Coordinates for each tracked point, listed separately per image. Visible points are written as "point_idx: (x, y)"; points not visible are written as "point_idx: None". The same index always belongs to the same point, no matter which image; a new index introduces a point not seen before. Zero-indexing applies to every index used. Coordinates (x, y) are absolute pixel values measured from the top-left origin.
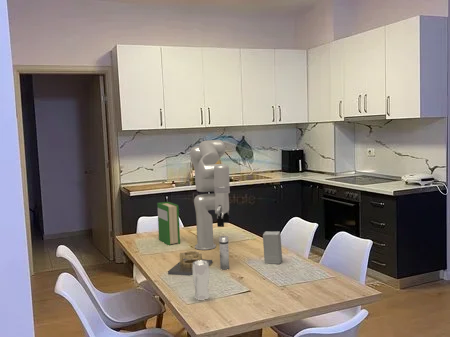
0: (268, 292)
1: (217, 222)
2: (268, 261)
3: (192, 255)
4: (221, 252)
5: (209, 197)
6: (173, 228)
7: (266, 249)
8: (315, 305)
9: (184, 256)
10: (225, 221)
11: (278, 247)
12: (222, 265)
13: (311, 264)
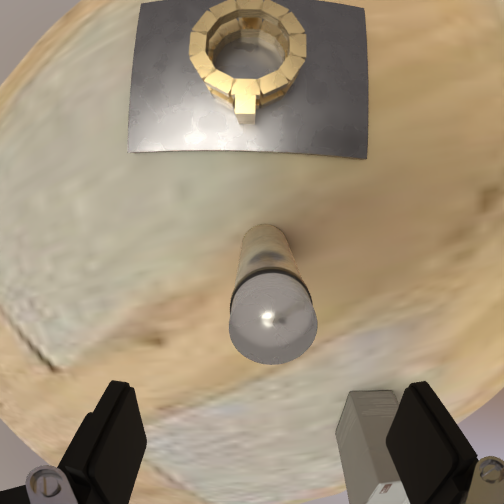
0: (66, 410)
1: (90, 420)
2: (346, 409)
3: (203, 67)
4: (239, 266)
5: None
6: None
7: (357, 440)
8: (55, 466)
9: (198, 24)
10: (401, 425)
11: (345, 479)
12: (241, 246)
13: (330, 486)
